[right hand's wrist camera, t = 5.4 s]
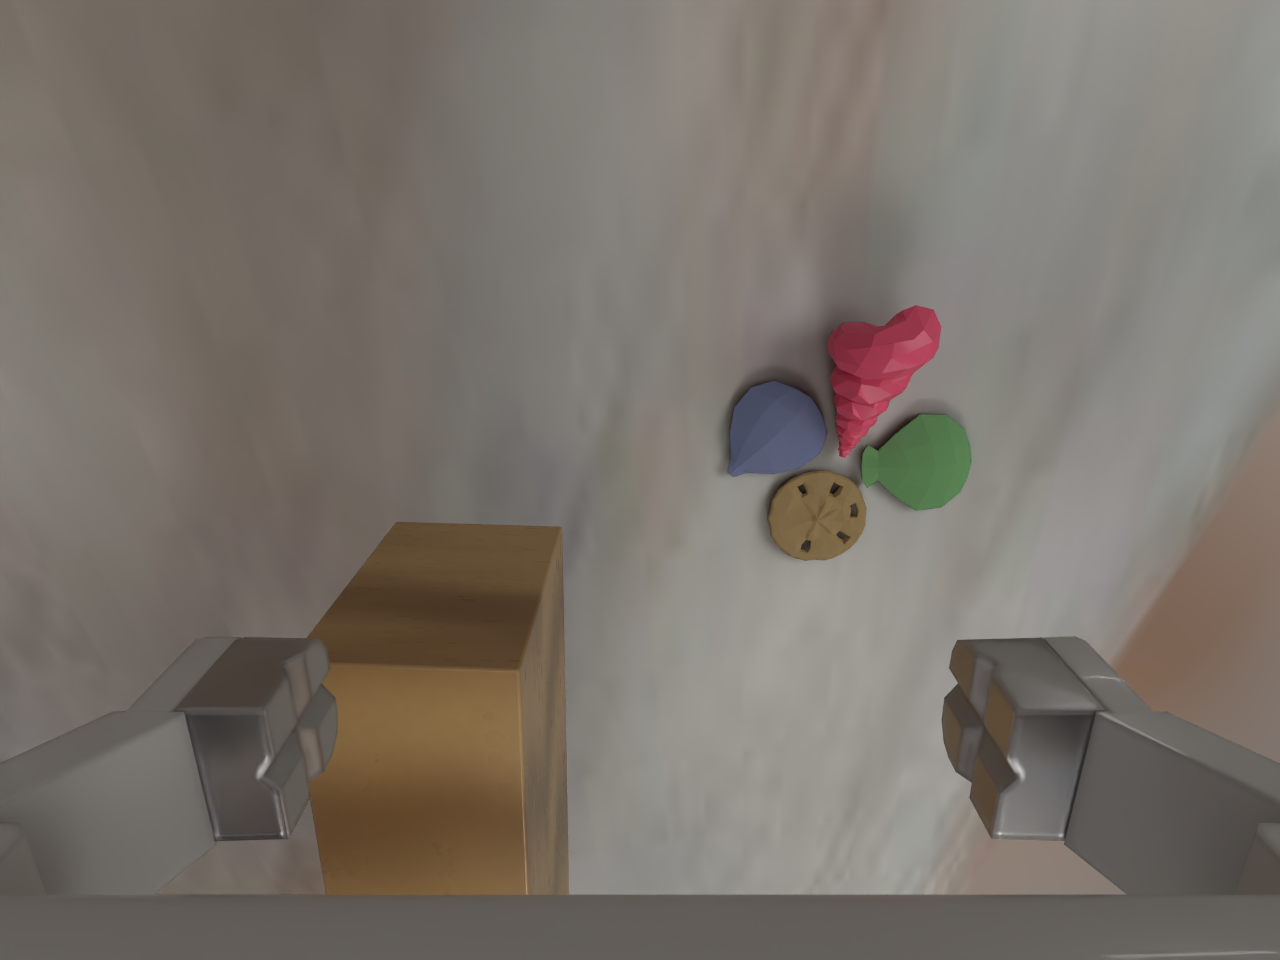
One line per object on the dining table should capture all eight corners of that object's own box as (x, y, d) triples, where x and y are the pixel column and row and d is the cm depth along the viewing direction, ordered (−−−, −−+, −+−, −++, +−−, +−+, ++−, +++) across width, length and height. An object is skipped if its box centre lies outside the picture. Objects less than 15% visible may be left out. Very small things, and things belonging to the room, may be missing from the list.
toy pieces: (700, 340, 36) (704, 362, 32) (952, 283, 35) (990, 299, 31) (749, 572, 40) (757, 618, 36) (976, 529, 39) (1012, 571, 35)
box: (395, 520, 29) (285, 661, 21) (562, 526, 29) (519, 670, 21) (446, 1032, 39) (386, 1268, 31) (571, 1037, 39) (545, 1276, 31)
